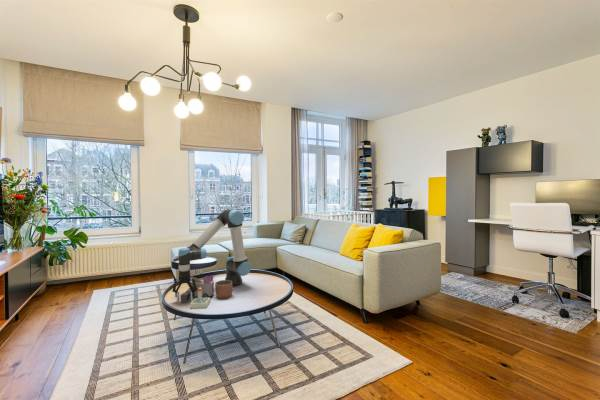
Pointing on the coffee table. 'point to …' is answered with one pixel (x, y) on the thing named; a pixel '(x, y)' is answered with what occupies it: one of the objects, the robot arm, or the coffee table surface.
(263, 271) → the coffee table surface
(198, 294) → the pin
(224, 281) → the planter
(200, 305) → the tray
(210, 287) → the toy vehicle
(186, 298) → the chock
